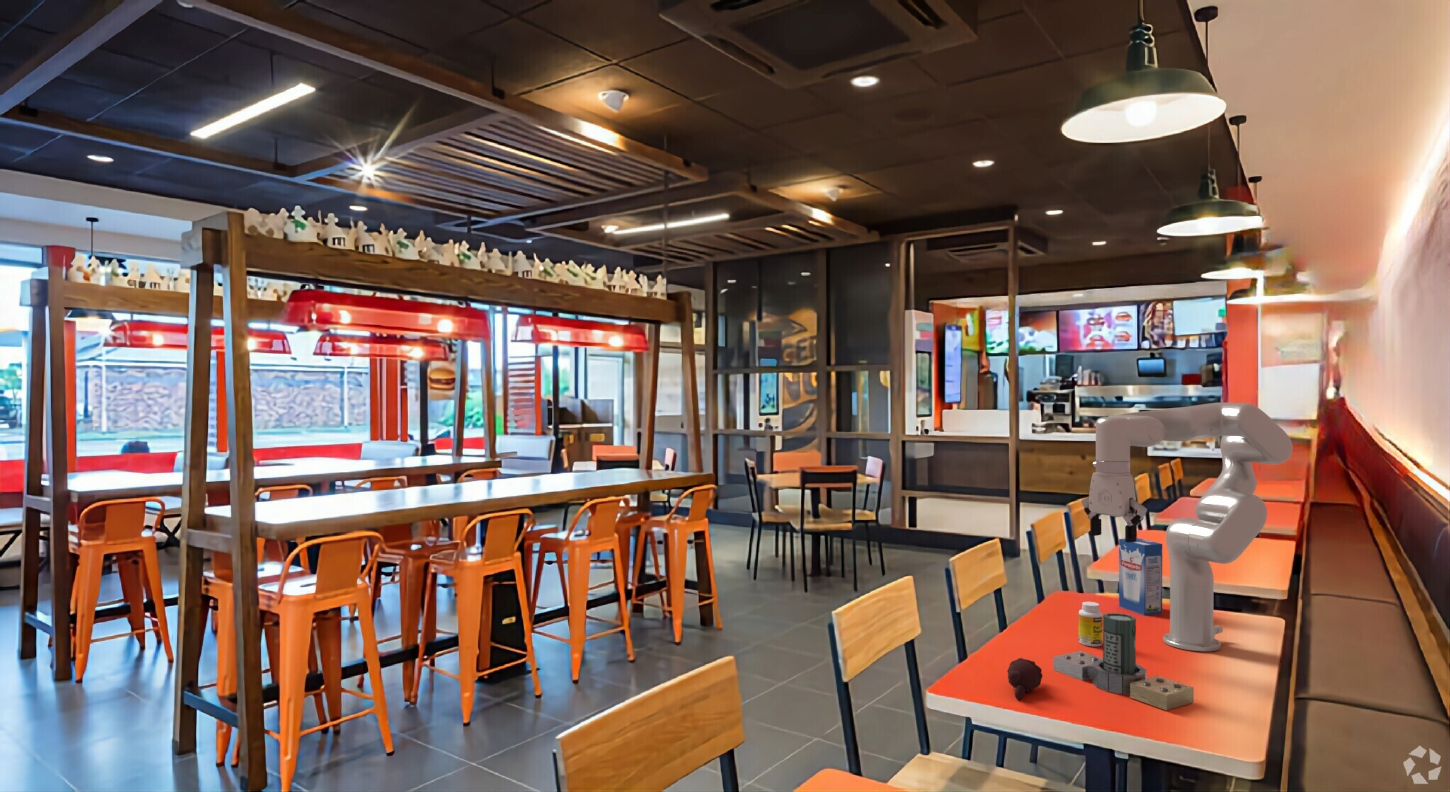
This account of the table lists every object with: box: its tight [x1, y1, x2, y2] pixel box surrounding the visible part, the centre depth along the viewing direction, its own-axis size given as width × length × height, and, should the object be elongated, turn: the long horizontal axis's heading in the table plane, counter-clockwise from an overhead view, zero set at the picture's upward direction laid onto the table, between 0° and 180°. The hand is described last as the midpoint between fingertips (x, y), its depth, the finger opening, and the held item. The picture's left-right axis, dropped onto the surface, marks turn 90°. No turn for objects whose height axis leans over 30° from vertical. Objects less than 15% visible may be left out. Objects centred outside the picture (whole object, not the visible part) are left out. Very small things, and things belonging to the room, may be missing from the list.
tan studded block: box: [1129, 675, 1195, 711], centre depth 172 cm, size 9×8×3 cm
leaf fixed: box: [1052, 650, 1148, 696], centre depth 184 cm, size 10×19×4 cm, turn 27°
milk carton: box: [1118, 537, 1163, 616], centre depth 240 cm, size 10×6×20 cm, turn 16°
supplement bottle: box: [1078, 601, 1104, 648], centre depth 209 cm, size 6×6×10 cm
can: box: [1102, 612, 1137, 674], centre depth 180 cm, size 6×6×15 cm
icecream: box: [1007, 657, 1043, 700], centre depth 178 cm, size 7×7×15 cm
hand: (1113, 538), depth 201 cm, fingers open, 9 cm apart
